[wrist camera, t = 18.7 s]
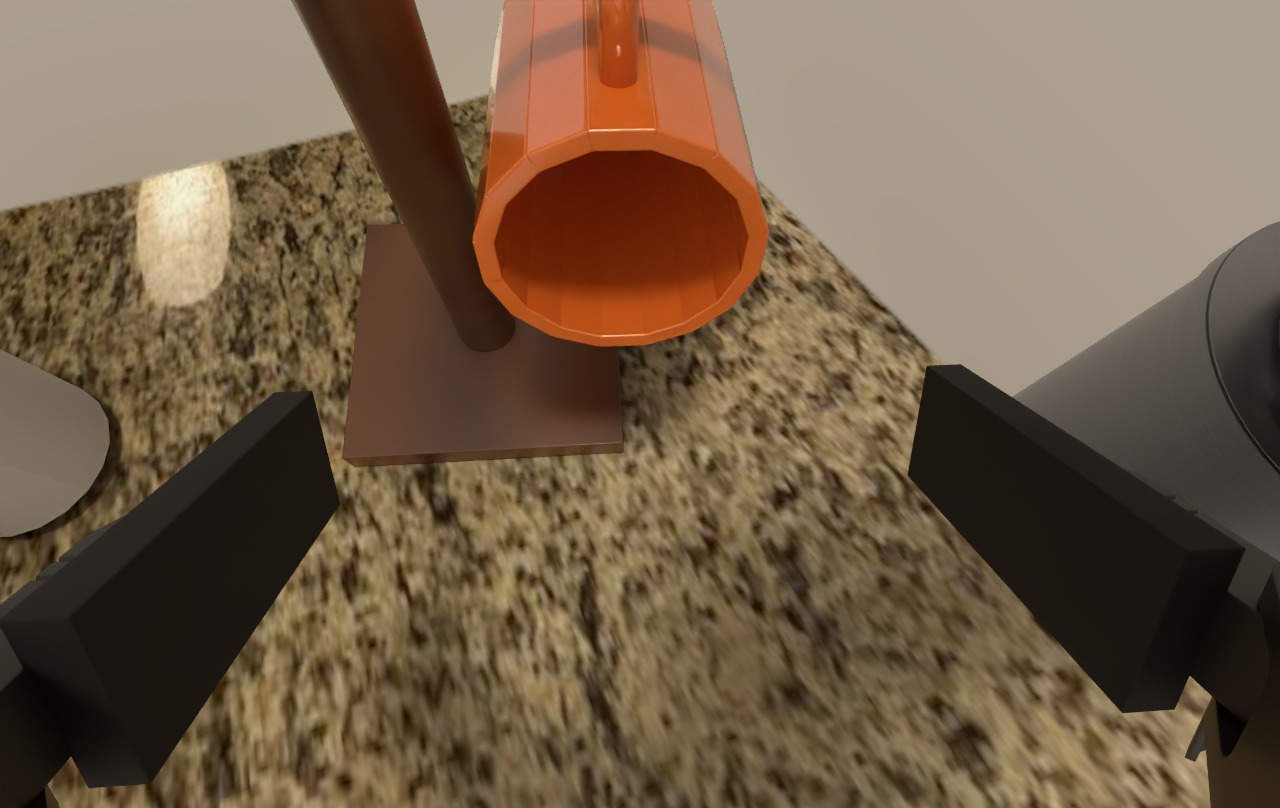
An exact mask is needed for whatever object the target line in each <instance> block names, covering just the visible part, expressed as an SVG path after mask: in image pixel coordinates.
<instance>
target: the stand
mask: <svg viewBox="0 0 1280 808" xmlns="http://www.w3.org/2000/svg"><path fill="white" fill-rule="evenodd" d="M292 3H293V4H294V6H295V8H296V10H297V12H298V14H299V16H300V18H301V20H302V22H303V24H304V26H305V28H306V30H307V32H308V34H309V36H310V38H311V40H312V42H313V44H314V46H315V48H316V50H317V52H318V54H319V56H320V58H321V60H322V62H323V64H324V66H325V68H326V70H327V72H328V74H329V76H330V78H331V80H332V82H333V84H334V86H335V88H336V90H337V92H338V94H339V96H340V98H341V100H342V102H343V104H344V106H345V108H346V110H347V112H348V114H349V116H350V118H351V120H352V122H353V124H354V126H355V128H356V130H357V132H358V134H359V136H360V138H361V140H362V142H363V144H364V146H365V148H366V150H367V152H368V154H369V156H370V158H371V160H372V162H373V164H374V166H375V168H376V170H377V172H378V174H379V176H380V178H381V180H382V182H383V184H384V186H385V188H386V190H387V192H388V194H389V196H390V198H391V200H392V202H393V204H394V206H395V208H396V210H397V212H398V214H399V216H400V218H401V220H402V222H403V223H404V224H390V225H368V226H367V234H366V243H365V253H364V262H363V271H362V280H361V290H360V299H359V308H358V317H357V327H356V336H355V345H354V355H353V364H352V373H351V382H350V392H349V401H348V410H347V419H346V429H345V438H344V447H343V456H342V458H343V459H344V460H346V461H347V462H349V463H350V464H352V465H353V466H354V467H360V466H378V465H397V464H415V463H433V462H451V461H470V460H488V459H506V458H524V457H542V456H561V455H579V454H597V453H615V452H623V445H624V441H623V425H622V408H621V392H620V375H619V358H618V346H609V347H600V346H593V345H589V344H584V343H579V342H575V341H570V340H565V339H561V338H556V337H554V336H550V335H548V334H547V333H545V332H543V331H541V330H539V329H537V328H535V327H533V326H532V325H530V324H528V323H526V322H524V321H522V320H520V319H519V318H517V317H515V316H514V315H512V314H511V313H510V312H509V311H508V310H507V309H506V307H505V306H504V305H503V304H502V303H501V302H500V301H499V300H498V298H497V297H496V296H495V295H494V294H493V293H492V292H491V291H490V289H489V288H488V287H487V286H486V285H485V284H484V282H483V279H482V275H481V272H480V268H479V264H478V261H477V257H476V253H475V249H474V246H473V242H472V241H473V230H474V221H475V212H476V204H477V199H476V196H475V192H474V189H473V186H472V183H471V180H470V176H469V173H468V170H467V167H466V164H465V160H464V157H463V154H462V151H461V148H460V144H459V141H458V138H457V135H456V132H455V129H454V125H453V122H452V119H451V116H450V113H449V109H448V106H447V103H446V100H445V97H444V93H443V90H442V87H441V84H440V81H439V77H438V74H437V71H436V68H435V65H434V62H433V58H432V55H431V52H430V49H429V46H428V43H427V39H426V36H425V33H424V30H423V27H422V24H421V20H420V17H419V14H418V11H417V7H416V4H415V1H414V0H292Z"/></svg>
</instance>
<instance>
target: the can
mask: <svg viewBox="0 0 1280 808" xmlns="http://www.w3.org/2000/svg"><path fill="white" fill-rule="evenodd" d="M109 444H110V438H109V425H108V419H107V417H106V415H105V413H104V411H103V410H102V408H101V406H100V404H99V402H98V401H97V400H95V399H94V398H93V397H91V396H90V395H89V394H88V393H86V392H85V391H84V390H82V389H81V388H79V387H76V386H74V385H72V384H70V383H68V382H66V381H64V380H62V379H60V378H58V377H56V376H54V375H52V374H50V373H48V372H46V371H44V370H42V369H40V368H38V367H35V366H33V365H31V364H29V363H27V362H25V361H23V360H21V359H19V358H17V357H15V356H13V355H11V354H9V353H7V352H5V351H3V350H1V349H0V537H12V536H15V535H18V534H21V533H24V532H28V531H31V530H34V529H37V528H40V527H42V526H43V525H45V524H47V523H48V522H50V521H52V520H53V519H55V518H57V517H58V516H60V515H62V514H63V513H65V512H67V511H68V510H69V509H70V508H71V507H72V506H73V505H74V504H75V503H76V502H77V501H78V500H79V499H80V498H81V497H82V496H83V495H84V494H85V493H86V492H87V491H88V490H89V488H90V487H91V485H92V484H93V482H94V480H95V479H96V477H97V476H98V474H99V472H100V471H101V469H102V468H103V465H104V462H105V458H106V454H107V451H108V447H109Z"/></svg>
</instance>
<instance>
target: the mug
mask: <svg viewBox="0 0 1280 808" xmlns="http://www.w3.org/2000/svg"><path fill="white" fill-rule="evenodd" d="M768 236H769V229H768V225H767V221H766V216H765V212H764V208H763V204H762V200H761V196H760V192H759V188H758V183H757V179H756V175H755V171H754V167H753V163H752V159H751V154H750V150H749V146H748V142H747V138H746V134H745V130H744V126H743V121H742V117H741V113H740V109H739V105H738V101H737V97H736V92H735V88H734V84H733V80H732V76H731V72H730V68H729V64H728V59H727V55H726V51H725V47H724V43H723V39H722V36H721V32H720V28H719V24H718V21H717V17H716V13H715V9H714V6H713V2H712V0H505V1H504V3H503V7H502V10H501V15H500V21H499V28H498V32H497V36H496V41H495V48H494V57H493V64H492V73H491V82H490V91H489V99H488V108H487V117H486V125H485V134H484V143H483V151H482V160H481V169H480V178H479V186H478V195H477V204H476V212H475V221H474V230H473V241H472V242H473V246H474V249H475V253H476V257H477V261H478V264H479V268H480V272H481V275H482V279H483V282H484V284H485V285H486V286H487V287H488V288H489V289H490V291H491V292H492V293H493V294H494V295H495V296H496V297H497V298H498V300H499V301H500V302H501V303H502V304H503V305H504V306H505V307H506V309H507V310H508V311H509V312H510V313H511V314H512V315H514V316H515V317H517V318H519V319H520V320H522V321H524V322H526V323H528V324H530V325H532V326H533V327H535V328H537V329H539V330H541V331H543V332H545V333H547V334H548V335H550V336H554V337H556V338H561V339H565V340H570V341H575V342H579V343H584V344H589V345H593V346H600V347H609V346H638V345H646V344H652V343H655V342H659V341H662V340H666V339H669V338H673V337H676V336H680V335H683V334H687V333H690V332H691V331H694V330H696V329H698V328H699V327H701V326H703V325H704V324H706V323H708V322H709V321H711V320H712V319H714V318H716V317H717V316H719V315H721V314H722V313H724V312H726V311H727V310H729V309H730V308H731V307H732V306H733V305H734V304H735V302H736V301H737V300H738V299H739V298H740V296H741V295H742V294H743V293H744V291H745V290H746V289H747V288H748V287H749V285H750V284H751V283H752V282H753V281H754V279H755V278H756V277H757V275H758V274H759V271H760V267H761V263H762V260H763V256H764V252H765V248H766V244H767V240H768Z"/></svg>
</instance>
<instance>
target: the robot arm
mask: <svg viewBox="0 0 1280 808" xmlns="http://www.w3.org/2000/svg"><path fill="white" fill-rule="evenodd" d="M1278 344H1279V352H1280V318H1279V324H1278ZM908 476H909V477H910V479H911V480H912V481H913V482H914V483H915V484H916V485H917V486H918V487H919V489H920V490H921V491H922V492H923V493H924V494H925V495H926V496H927V497H928V498H929V500H930V501H931V502H932V503H933V504H934V505H935V506H936V507H937V508H938V510H939V511H940V512H941V513H942V514H943V515H944V516H945V517H946V518H947V520H948V521H949V522H950V523H951V524H952V525H953V526H954V527H955V528H956V529H957V531H958V532H959V533H960V534H961V535H962V536H963V537H964V538H965V539H966V541H967V542H968V543H969V544H970V545H971V546H972V547H973V548H974V549H975V550H976V552H977V553H978V554H979V555H980V556H981V557H982V558H983V559H984V560H985V562H986V563H987V564H988V565H989V566H990V567H991V568H992V569H993V570H994V572H995V573H996V574H997V575H998V576H999V577H1000V578H1001V579H1002V580H1003V581H1004V583H1005V584H1006V585H1007V586H1008V587H1009V588H1010V589H1011V590H1012V591H1013V593H1014V594H1015V595H1016V596H1017V597H1018V598H1019V599H1020V600H1021V601H1022V603H1023V604H1024V605H1025V606H1026V607H1027V608H1028V609H1029V610H1030V611H1031V612H1032V614H1033V615H1034V616H1035V617H1036V618H1037V619H1038V620H1039V621H1040V622H1041V624H1042V625H1043V626H1044V627H1045V628H1046V629H1047V630H1048V631H1049V632H1050V633H1051V635H1052V636H1053V637H1054V638H1055V639H1056V640H1057V641H1058V642H1059V643H1060V645H1061V646H1062V647H1063V648H1064V649H1065V650H1066V651H1067V652H1068V653H1069V655H1070V656H1071V657H1072V658H1073V659H1074V660H1075V661H1076V662H1077V663H1078V664H1079V666H1080V667H1081V668H1082V669H1083V670H1084V671H1085V672H1086V673H1087V674H1088V676H1089V677H1090V678H1091V679H1092V680H1093V681H1094V682H1095V683H1096V684H1097V686H1098V687H1099V688H1100V689H1101V690H1102V691H1103V692H1104V693H1105V694H1106V695H1107V697H1108V698H1109V699H1110V700H1111V701H1112V702H1113V703H1114V704H1115V705H1116V707H1117V708H1118V709H1119V710H1120V711H1121V712H1122V713H1131V712H1145V711H1159V710H1173V709H1175V707H1176V705H1177V703H1178V700H1179V698H1180V696H1181V694H1182V691H1183V689H1184V687H1185V685H1186V682H1187V680H1188V678H1189V676H1191V677H1192V678H1193V679H1194V680H1195V681H1196V682H1197V683H1198V684H1200V685H1201V686H1202V687H1203V688H1204V689H1205V690H1206V691H1207V692H1208V693H1209V694H1210V695H1211V696H1212V698H1211V700H1210V703H1209V705H1208V707H1207V709H1206V711H1205V713H1204V715H1203V717H1202V719H1201V722H1200V724H1199V726H1198V728H1197V730H1196V732H1195V734H1194V736H1193V738H1192V741H1191V743H1190V745H1189V747H1188V750H1187V753H1186V756H1185V758H1187V759H1190V760H1192V761H1194V762H1195V761H1196V759H1197V757H1198V755H1199V753H1200V752H1201V751H1205V750H1206V755H1207V767H1208V779H1209V790H1210V802H1211V808H1280V562H1279V561H1277V560H1276V559H1274V558H1272V557H1271V556H1269V555H1268V554H1266V553H1264V552H1263V551H1261V550H1260V549H1258V548H1257V547H1255V546H1253V545H1252V544H1250V543H1249V542H1247V541H1245V540H1244V539H1242V538H1241V537H1239V536H1238V535H1236V534H1234V533H1233V532H1231V531H1230V530H1228V529H1227V528H1225V527H1223V526H1222V525H1220V524H1219V523H1217V522H1215V521H1214V520H1212V519H1211V518H1209V517H1208V516H1206V515H1204V514H1198V510H1196V509H1195V508H1193V507H1192V506H1190V505H1189V504H1187V503H1185V502H1184V501H1182V500H1181V499H1175V496H1174V495H1173V494H1171V493H1170V492H1168V491H1166V490H1165V489H1163V488H1162V487H1160V486H1159V485H1157V484H1155V483H1154V482H1152V481H1151V480H1149V479H1147V478H1145V477H1143V476H1140V475H1138V474H1135V473H1133V472H1130V471H1128V470H1126V469H1123V468H1121V467H1119V466H1118V465H1116V464H1115V463H1113V462H1112V461H1110V460H1108V459H1107V458H1105V457H1104V456H1102V455H1101V454H1099V453H1098V452H1096V451H1094V450H1093V449H1091V448H1090V447H1088V446H1087V445H1085V444H1084V443H1082V442H1080V441H1079V440H1077V439H1076V438H1074V437H1073V436H1071V435H1070V434H1068V433H1066V432H1065V431H1063V430H1062V429H1060V428H1059V427H1057V426H1056V425H1054V424H1053V423H1051V422H1049V421H1048V420H1046V419H1045V418H1043V417H1042V416H1040V415H1039V414H1037V413H1035V412H1034V411H1032V410H1031V409H1029V408H1028V407H1026V406H1025V405H1023V404H1021V403H1020V402H1018V401H1017V400H1015V399H1014V398H1012V397H1010V396H1009V395H1007V394H1006V393H1004V392H1003V391H1001V390H1000V389H998V388H996V387H995V386H993V385H992V384H990V383H989V382H987V381H986V380H984V379H983V378H981V377H979V376H978V375H976V374H975V373H973V372H972V371H970V370H969V369H967V368H965V367H964V366H962V365H961V364H959V365H935V366H927V368H926V373H925V379H924V385H923V391H922V396H921V402H920V408H919V413H918V419H917V425H916V431H915V436H914V442H913V448H912V453H911V459H910V465H909V471H908ZM339 505H340V502H339V498H338V494H337V490H336V486H335V482H334V478H333V474H332V470H331V466H330V462H329V457H328V453H327V449H326V445H325V441H324V437H323V433H322V429H321V425H320V421H319V417H318V413H317V408H316V404H315V400H314V396H313V392H312V391H301V392H276V393H273V394H272V395H271V396H270V397H268V398H267V399H266V400H265V401H264V402H262V403H261V404H260V405H259V406H257V407H256V408H255V409H254V410H253V411H251V412H250V413H249V414H248V415H247V416H245V417H244V418H243V419H242V420H240V421H239V422H238V423H237V424H236V425H234V426H233V427H232V428H231V429H230V430H228V431H227V432H226V433H225V434H224V435H222V436H221V437H220V438H219V439H217V440H216V441H215V442H214V443H213V444H211V445H210V446H209V447H208V448H207V449H205V450H204V451H203V452H202V453H201V454H199V455H198V456H197V457H196V458H194V459H193V460H192V461H191V462H190V463H188V464H187V465H186V466H185V467H184V468H182V469H181V470H180V471H179V472H178V473H176V474H175V475H174V476H173V477H171V478H170V479H169V480H168V481H167V482H165V483H164V484H163V485H162V486H161V487H159V488H158V489H157V490H156V491H154V492H153V493H152V494H151V495H150V496H148V497H147V498H146V499H145V500H144V501H142V502H141V503H140V504H139V505H138V506H136V507H135V508H134V509H133V510H131V511H130V512H129V513H128V514H127V515H125V516H123V517H121V518H119V519H117V520H115V521H114V522H112V523H110V524H108V525H106V526H104V527H102V528H100V529H98V530H97V531H95V532H93V533H91V534H89V535H87V536H86V537H84V538H83V539H82V540H81V541H79V542H78V543H77V544H76V545H74V546H73V547H72V548H71V549H69V550H68V551H67V552H66V553H64V554H63V555H62V556H61V557H60V558H59V562H53V563H52V564H51V565H50V566H48V567H47V568H46V569H45V570H43V571H42V572H41V573H40V574H38V575H37V576H36V580H35V581H30V582H28V583H27V584H26V585H25V586H23V587H22V588H21V589H20V590H18V591H17V592H16V593H15V594H13V595H12V596H11V597H10V598H8V599H7V600H6V601H5V602H3V603H2V604H1V605H0V808H59V804H58V802H57V800H56V798H55V797H54V795H53V793H52V792H51V790H50V788H49V786H48V785H47V784H48V783H49V782H50V781H51V779H52V778H53V777H54V776H55V775H56V773H57V772H58V771H59V770H60V769H61V767H62V766H63V765H64V764H65V763H66V761H67V760H68V759H69V758H70V757H72V759H73V760H74V762H75V764H76V766H77V768H78V769H79V771H80V773H81V775H82V777H83V779H84V780H85V782H86V784H87V786H88V788H97V787H111V786H125V785H138V784H151V782H152V781H153V779H154V778H155V776H156V775H157V773H158V772H159V771H160V769H161V768H162V766H163V765H164V763H165V762H166V760H167V759H168V757H169V756H170V754H171V753H172V751H173V750H174V748H175V747H176V745H177V744H178V742H179V741H180V740H181V738H182V737H183V735H184V734H185V732H186V731H187V729H188V728H189V726H190V725H191V723H192V722H193V720H194V719H195V717H196V716H197V714H198V713H199V711H200V710H201V708H202V707H203V706H204V704H205V703H206V701H207V700H208V698H209V697H210V695H211V694H212V692H213V691H214V689H215V688H216V686H217V685H218V683H219V682H220V680H221V679H222V677H223V676H224V675H225V673H226V672H227V670H228V669H229V667H230V666H231V664H232V663H233V661H234V660H235V658H236V657H237V655H238V654H239V652H240V651H241V649H242V648H243V646H244V645H245V644H246V642H247V641H248V639H249V638H250V636H251V635H252V633H253V632H254V630H255V629H256V627H257V626H258V624H259V623H260V621H261V620H262V618H263V617H264V615H265V614H266V612H267V611H268V610H269V608H270V607H271V605H272V604H273V602H274V601H275V599H276V598H277V596H278V595H279V593H280V592H281V590H282V589H283V587H284V586H285V584H286V583H287V581H288V580H289V579H290V577H291V576H292V574H293V573H294V571H295V570H296V568H297V567H298V565H299V564H300V562H301V561H302V559H303V558H304V556H305V555H306V553H307V552H308V550H309V549H310V548H311V546H312V545H313V543H314V542H315V540H316V539H317V537H318V536H319V534H320V533H321V531H322V530H323V528H324V527H325V525H326V524H327V522H328V521H329V519H330V518H331V517H332V515H333V514H334V512H335V511H336V509H337V508H338V506H339Z"/></svg>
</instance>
